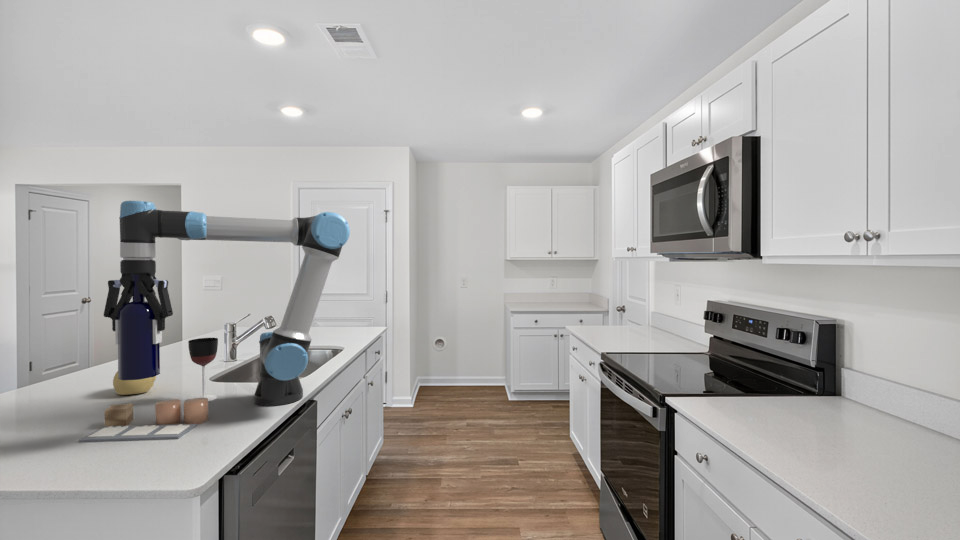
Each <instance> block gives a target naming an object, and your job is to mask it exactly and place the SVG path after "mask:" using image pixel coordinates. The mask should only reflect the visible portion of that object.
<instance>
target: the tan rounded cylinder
mask: <svg viewBox="0 0 960 540" xmlns="http://www.w3.org/2000/svg"><path fill="white" fill-rule="evenodd" d="M207 421H209V401H208V398H196V397H193V398H190V399H187V400H185V401H184V402H183V424H196V425H200V424H203V423H205V422H207Z"/></svg>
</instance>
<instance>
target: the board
mask: <svg viewBox="0 0 960 540" xmlns="http://www.w3.org/2000/svg"><path fill="white" fill-rule="evenodd" d="M196 427H197V424H184V423H178V424H172V425H156V424H144V425H127V426H105V425H104V426H103V427H100V429H97V430H96V431H94V432H93V431H92V432H91V433H89V434H88V435H87V434H86V436H84V437H81V438H80V439H78V442H79V443H87V442H88V443H90V442H91V443H93V442H94V443H96V442H117V441H118V442H123V441H126V442H127V441H149V440H151V441H152V440H179V439H180V438H182V437H183V436H184V435H186V434H188V433H189V432H190V431H191V430H193V429H194V428H196Z"/></svg>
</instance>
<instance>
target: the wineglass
mask: <svg viewBox="0 0 960 540" xmlns="http://www.w3.org/2000/svg"><path fill="white" fill-rule="evenodd" d="M187 344H188V352H189V358H190V360H191V362H192V363H194V364H196V365H199V366H200V367H202V368H201V369H202V382H201V383H202V396H201V395H200V396H196V397H195V398H208V402H211V401H214V400H216V399H217V398H218V397H217V395H212V394H211V395H208V394H207V395H206V366H207V365H209V364H210V363H212V362H213V361H214V360H215V358H216V356H217V354H218V353H217V352H218V345H219V338H218V337H202V338H201V337H199V338H194V339H190V340H188V342H187Z"/></svg>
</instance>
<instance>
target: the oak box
mask: <svg viewBox="0 0 960 540" xmlns="http://www.w3.org/2000/svg"><path fill="white" fill-rule="evenodd" d="M133 420H134V403H133V402H132V403H123V404H112V405H110V406H109V407H108V408H106V409H105V410H104V427H105V426H129V424H131V423H132V422H133Z"/></svg>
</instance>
